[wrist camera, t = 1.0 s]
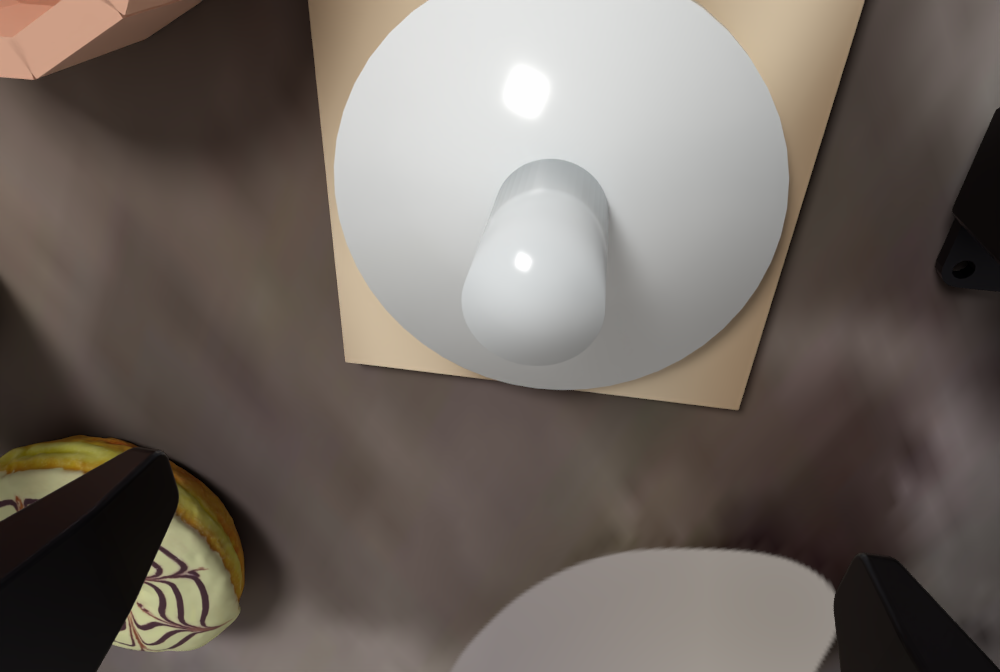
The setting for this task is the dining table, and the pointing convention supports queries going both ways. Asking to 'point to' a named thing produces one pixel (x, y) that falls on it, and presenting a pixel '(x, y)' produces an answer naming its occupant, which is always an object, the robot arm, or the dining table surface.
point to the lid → (561, 184)
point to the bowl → (75, 31)
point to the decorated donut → (179, 561)
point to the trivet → (803, 114)
